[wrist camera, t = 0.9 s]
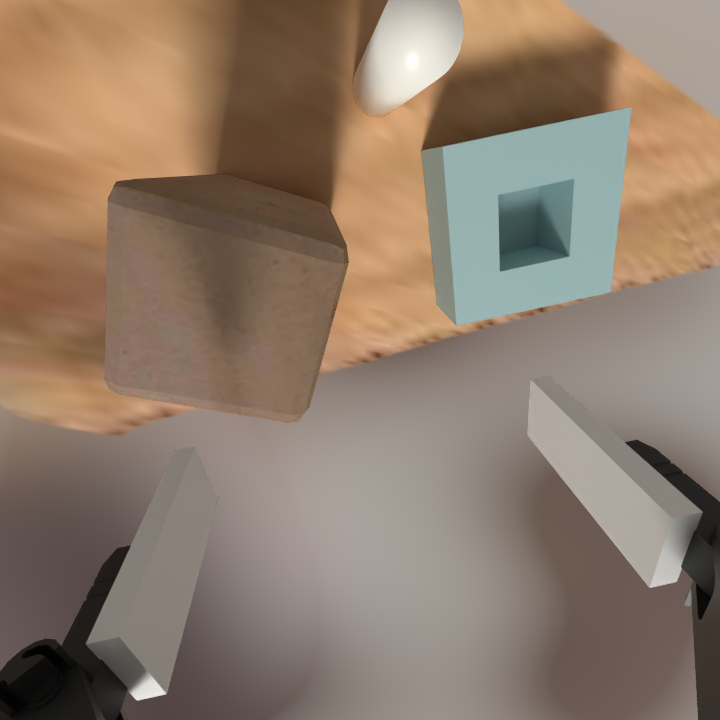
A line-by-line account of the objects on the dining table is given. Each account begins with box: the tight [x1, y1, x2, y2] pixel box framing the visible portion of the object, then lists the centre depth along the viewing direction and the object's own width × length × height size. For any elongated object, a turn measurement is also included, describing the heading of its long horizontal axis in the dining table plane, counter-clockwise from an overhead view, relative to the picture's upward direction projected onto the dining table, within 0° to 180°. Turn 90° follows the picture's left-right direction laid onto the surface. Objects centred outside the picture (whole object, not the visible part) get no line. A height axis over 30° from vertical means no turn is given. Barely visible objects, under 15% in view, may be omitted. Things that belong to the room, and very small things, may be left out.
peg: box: [352, 0, 464, 117], centre depth 25 cm, size 4×4×14 cm
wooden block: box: [105, 174, 349, 423], centre depth 26 cm, size 10×10×20 cm
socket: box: [421, 107, 632, 326], centre depth 34 cm, size 14×14×6 cm
